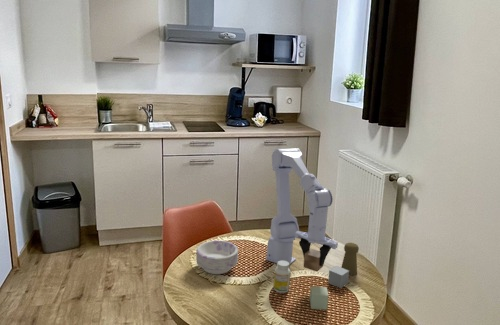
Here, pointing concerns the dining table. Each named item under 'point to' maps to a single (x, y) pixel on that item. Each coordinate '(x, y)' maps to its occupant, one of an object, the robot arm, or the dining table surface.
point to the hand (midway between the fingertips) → (313, 262)
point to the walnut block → (312, 260)
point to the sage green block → (319, 298)
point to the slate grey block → (338, 276)
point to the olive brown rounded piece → (350, 258)
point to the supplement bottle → (282, 277)
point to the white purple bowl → (217, 256)
